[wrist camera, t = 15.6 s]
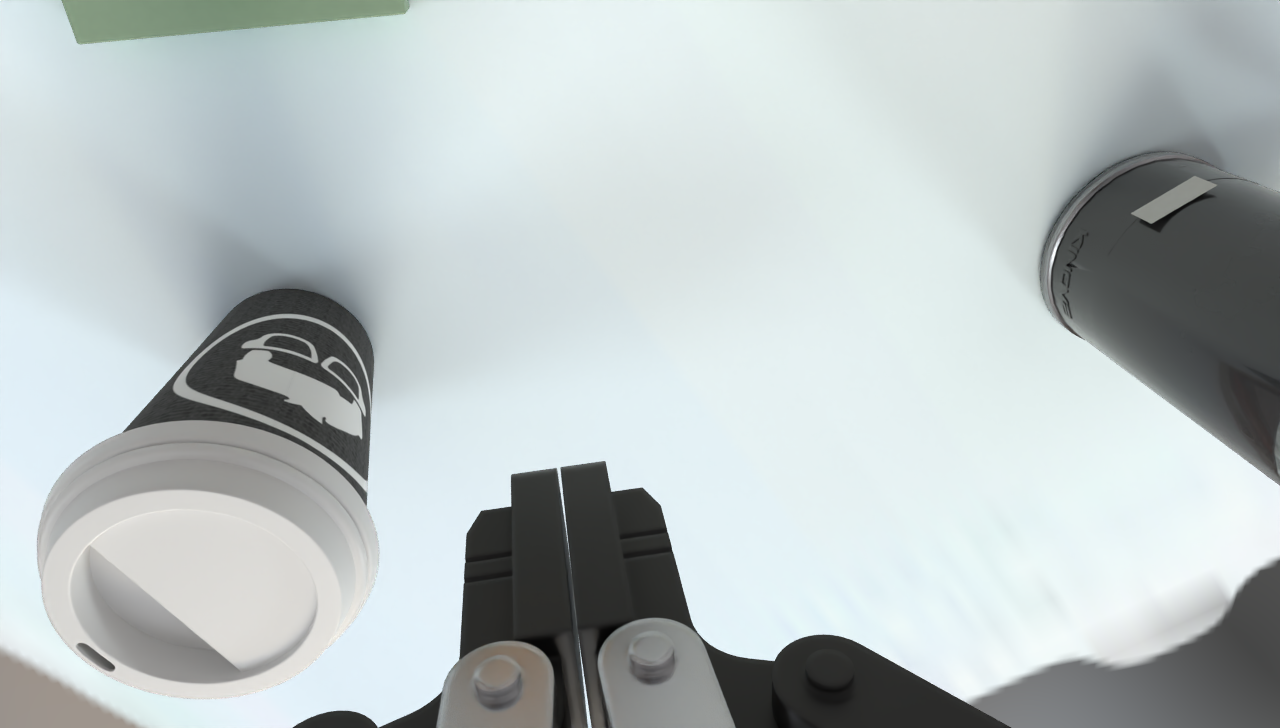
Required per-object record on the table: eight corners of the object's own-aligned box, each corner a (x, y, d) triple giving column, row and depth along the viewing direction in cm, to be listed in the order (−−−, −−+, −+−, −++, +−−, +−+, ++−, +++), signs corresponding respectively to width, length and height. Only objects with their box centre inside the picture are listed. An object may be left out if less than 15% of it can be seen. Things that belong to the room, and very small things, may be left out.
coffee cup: (141, 272, 35) (-63, 497, 22) (380, 238, 36) (321, 434, 23) (220, 465, 40) (90, 745, 27) (430, 430, 41) (404, 685, 28)
